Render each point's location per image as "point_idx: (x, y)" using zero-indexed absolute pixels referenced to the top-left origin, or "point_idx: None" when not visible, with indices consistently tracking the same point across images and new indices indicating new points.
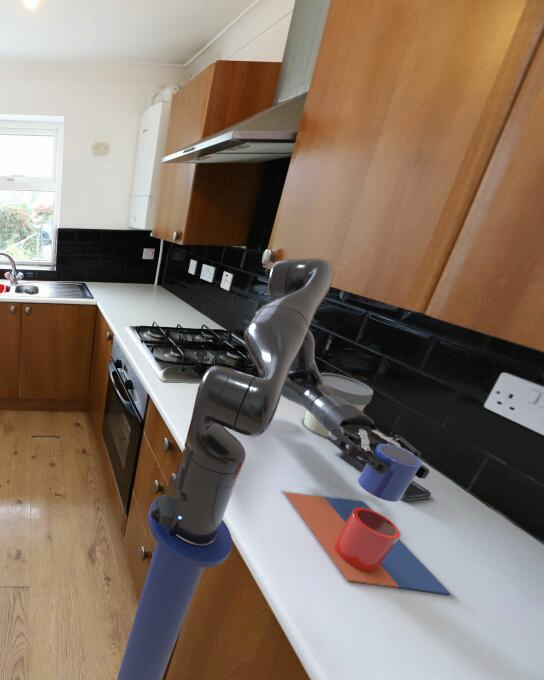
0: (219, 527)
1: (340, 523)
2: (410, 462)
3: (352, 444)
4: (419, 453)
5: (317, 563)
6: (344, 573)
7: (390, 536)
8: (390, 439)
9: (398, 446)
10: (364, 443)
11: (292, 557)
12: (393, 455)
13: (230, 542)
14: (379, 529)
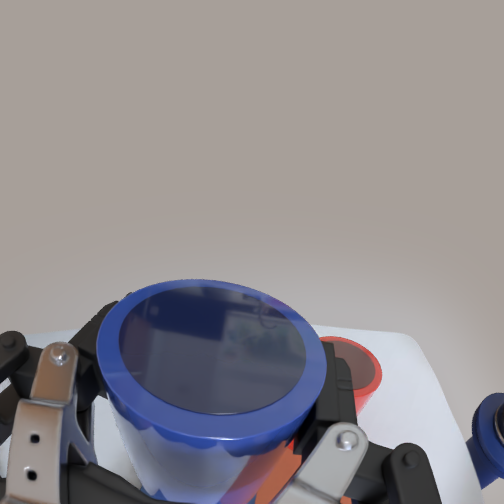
0: (491, 437)
1: (274, 492)
2: (219, 295)
3: (418, 466)
4: (13, 334)
5: (378, 417)
6: None
7: (338, 339)
8: (13, 450)
9: (49, 401)
10: (321, 492)
11: (410, 421)
12: (265, 337)
13: (480, 419)
14: (350, 350)
